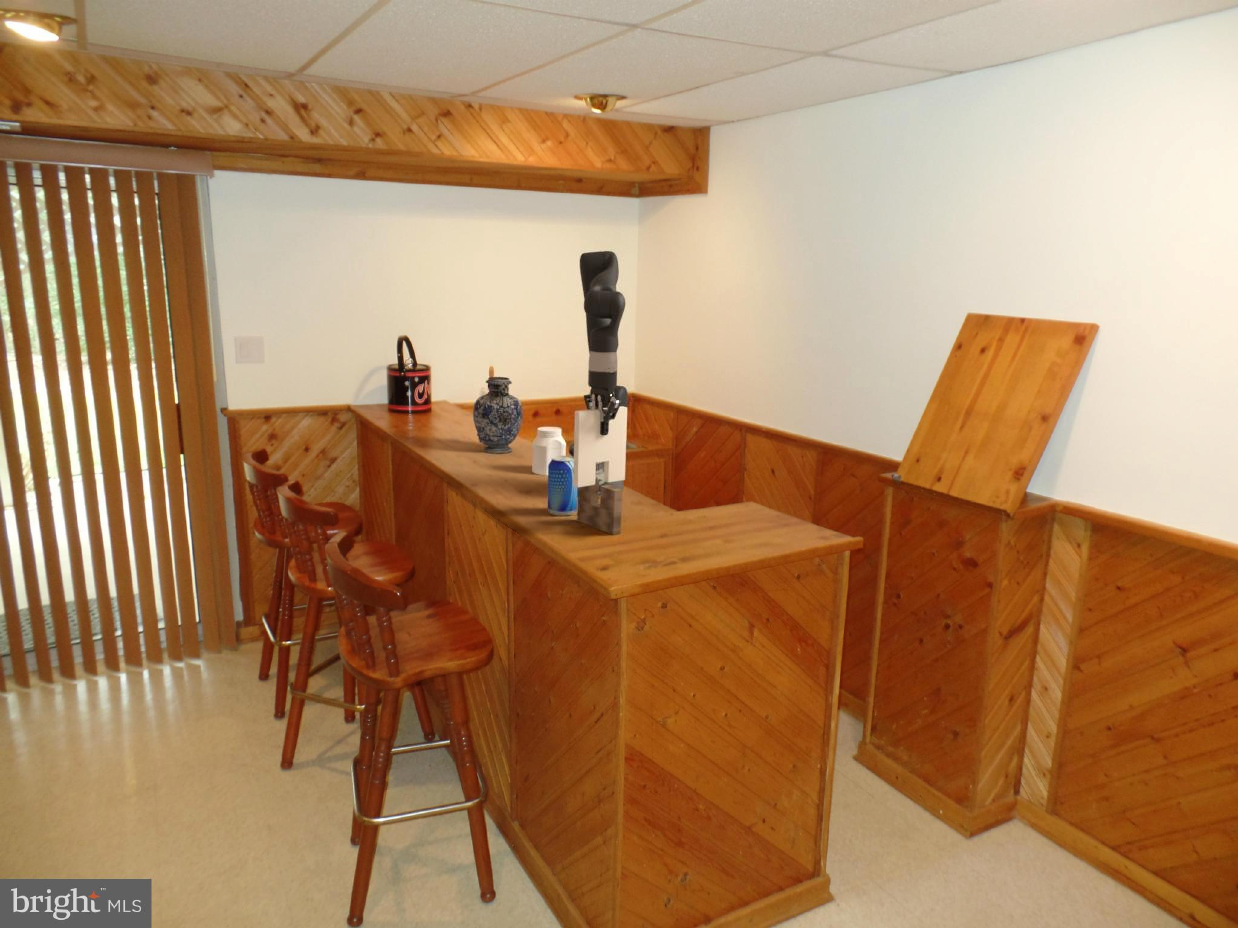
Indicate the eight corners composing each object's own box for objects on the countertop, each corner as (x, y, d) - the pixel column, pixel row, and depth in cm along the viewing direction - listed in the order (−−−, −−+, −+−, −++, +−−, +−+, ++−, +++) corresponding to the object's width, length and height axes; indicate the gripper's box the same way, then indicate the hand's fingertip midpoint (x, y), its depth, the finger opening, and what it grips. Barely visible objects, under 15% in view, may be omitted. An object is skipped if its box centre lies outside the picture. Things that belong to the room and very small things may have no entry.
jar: (557, 467, 299) (558, 425, 296) (570, 473, 291) (570, 430, 288) (527, 470, 293) (528, 427, 290) (539, 476, 285) (539, 432, 282)
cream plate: (577, 487, 222) (579, 412, 218) (573, 485, 224) (574, 410, 219) (624, 479, 232) (627, 407, 228) (620, 478, 234) (622, 406, 229)
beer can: (582, 511, 245) (583, 457, 241) (566, 518, 238) (567, 462, 234) (558, 506, 249) (559, 453, 245) (541, 513, 242) (542, 458, 238)
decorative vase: (466, 446, 328) (466, 374, 322) (512, 444, 336) (513, 374, 330) (481, 458, 309) (482, 381, 303) (529, 455, 317) (531, 381, 311)
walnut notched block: (577, 520, 236) (578, 478, 233) (584, 519, 237) (585, 477, 235) (613, 534, 224) (614, 491, 221) (620, 533, 225) (622, 489, 223)
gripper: (575, 366, 224) (574, 431, 228) (608, 372, 214) (606, 439, 217) (598, 365, 229) (596, 428, 232) (630, 371, 218) (628, 437, 222)
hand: (601, 433), depth 225 cm, fingers closed on cream plate, 2 cm apart
